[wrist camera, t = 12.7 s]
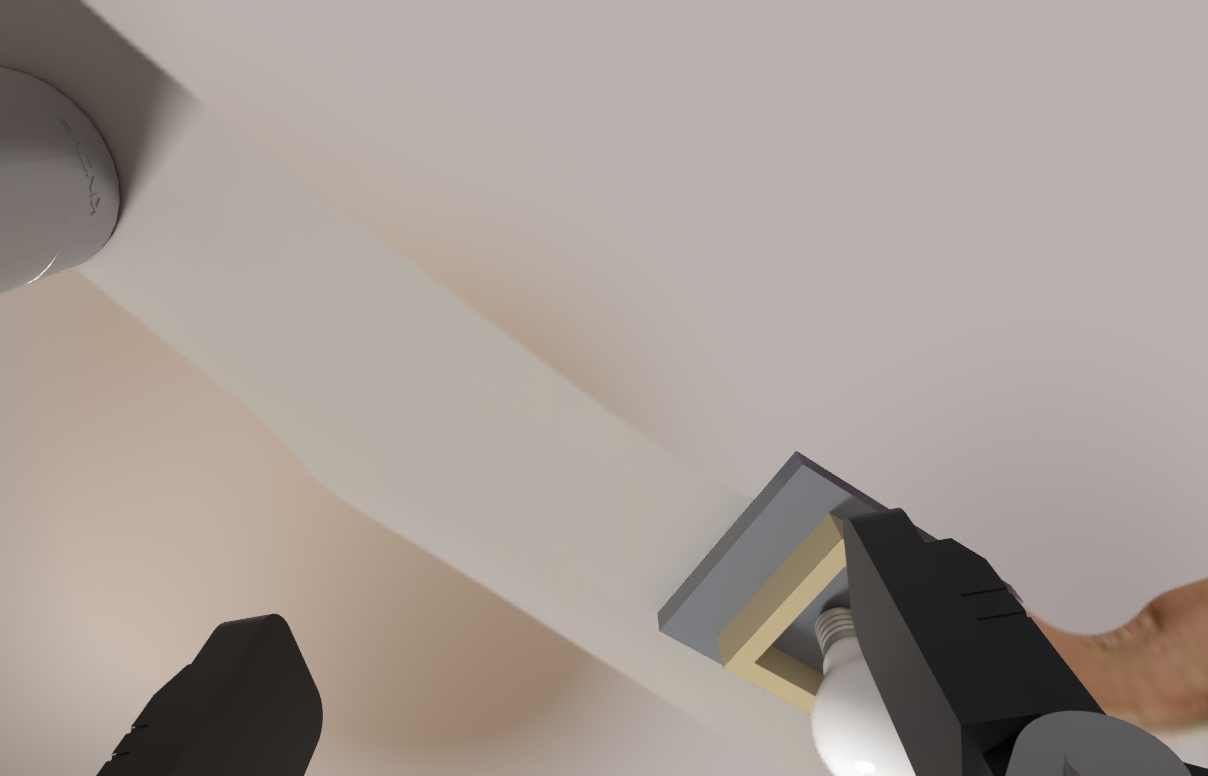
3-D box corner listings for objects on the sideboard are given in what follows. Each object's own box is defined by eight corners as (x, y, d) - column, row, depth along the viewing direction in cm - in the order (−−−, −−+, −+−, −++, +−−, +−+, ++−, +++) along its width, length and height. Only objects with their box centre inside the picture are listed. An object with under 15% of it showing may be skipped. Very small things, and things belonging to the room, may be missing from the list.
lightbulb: (862, 672, 45) (936, 847, 35) (762, 647, 45) (808, 819, 35) (910, 588, 43) (1003, 749, 33) (804, 560, 42) (867, 717, 32)
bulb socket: (657, 613, 46) (662, 662, 42) (796, 450, 41) (815, 488, 38) (863, 725, 49) (884, 779, 45) (1010, 585, 45) (1047, 631, 41)
